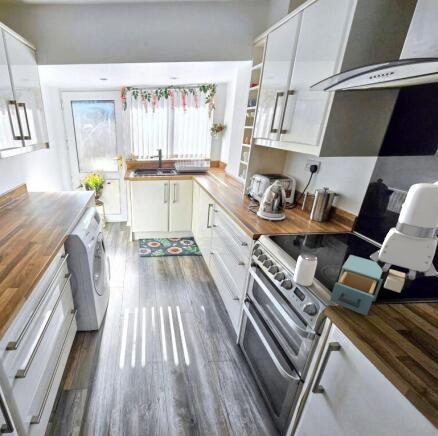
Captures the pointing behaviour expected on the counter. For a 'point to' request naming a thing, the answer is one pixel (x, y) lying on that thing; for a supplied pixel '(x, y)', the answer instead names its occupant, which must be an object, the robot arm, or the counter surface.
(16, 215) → the counter surface
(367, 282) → the drawer
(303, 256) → the can
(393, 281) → the bundle
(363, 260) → the cabinet
